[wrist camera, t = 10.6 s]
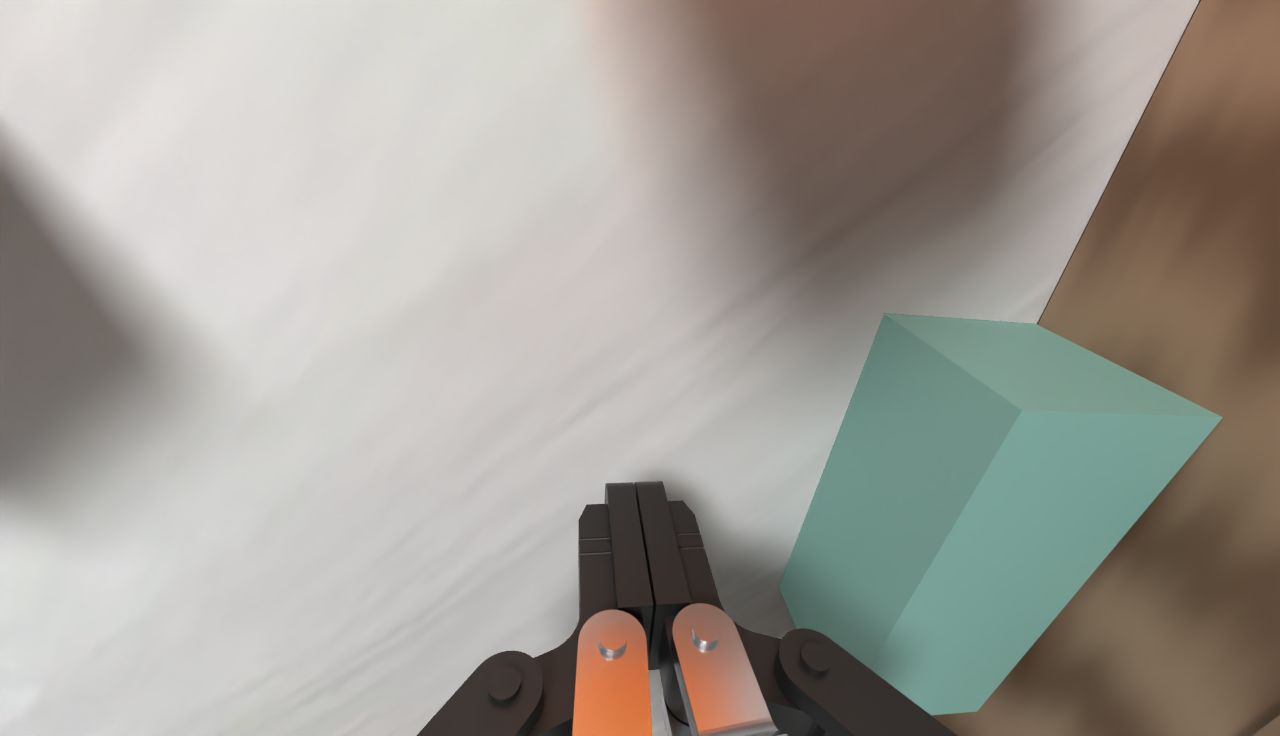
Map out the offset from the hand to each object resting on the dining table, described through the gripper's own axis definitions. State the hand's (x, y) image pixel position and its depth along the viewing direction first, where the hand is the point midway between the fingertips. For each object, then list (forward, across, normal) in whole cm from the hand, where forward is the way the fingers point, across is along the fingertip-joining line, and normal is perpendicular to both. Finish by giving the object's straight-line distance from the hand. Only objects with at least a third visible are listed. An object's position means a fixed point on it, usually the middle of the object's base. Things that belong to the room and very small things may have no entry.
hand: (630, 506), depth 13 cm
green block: (+5, -12, +3) cm, 13 cm away
